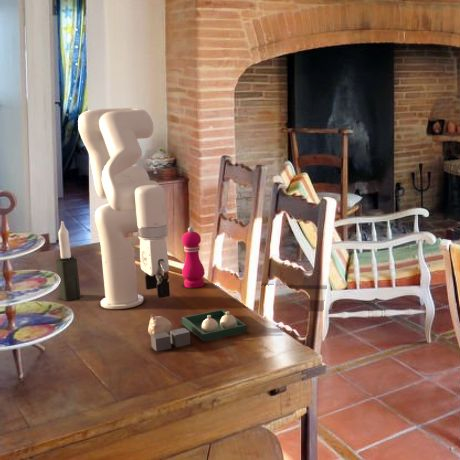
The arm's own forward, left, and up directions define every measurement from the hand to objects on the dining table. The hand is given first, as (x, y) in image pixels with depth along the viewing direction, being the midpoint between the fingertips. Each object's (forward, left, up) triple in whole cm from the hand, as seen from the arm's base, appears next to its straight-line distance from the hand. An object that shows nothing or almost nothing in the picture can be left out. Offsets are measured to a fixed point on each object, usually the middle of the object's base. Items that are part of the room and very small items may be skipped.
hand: (157, 292), depth 217 cm
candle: (-51, -12, -13) cm, 54 cm away
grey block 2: (+8, +3, -13) cm, 16 cm away
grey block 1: (+8, -3, -13) cm, 16 cm away
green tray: (+2, +15, -13) cm, 20 cm away
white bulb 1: (+6, +12, -13) cm, 18 cm away
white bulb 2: (+6, +17, -13) cm, 22 cm away
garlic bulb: (0, 0, -13) cm, 13 cm away
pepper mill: (-41, +25, -13) cm, 50 cm away
